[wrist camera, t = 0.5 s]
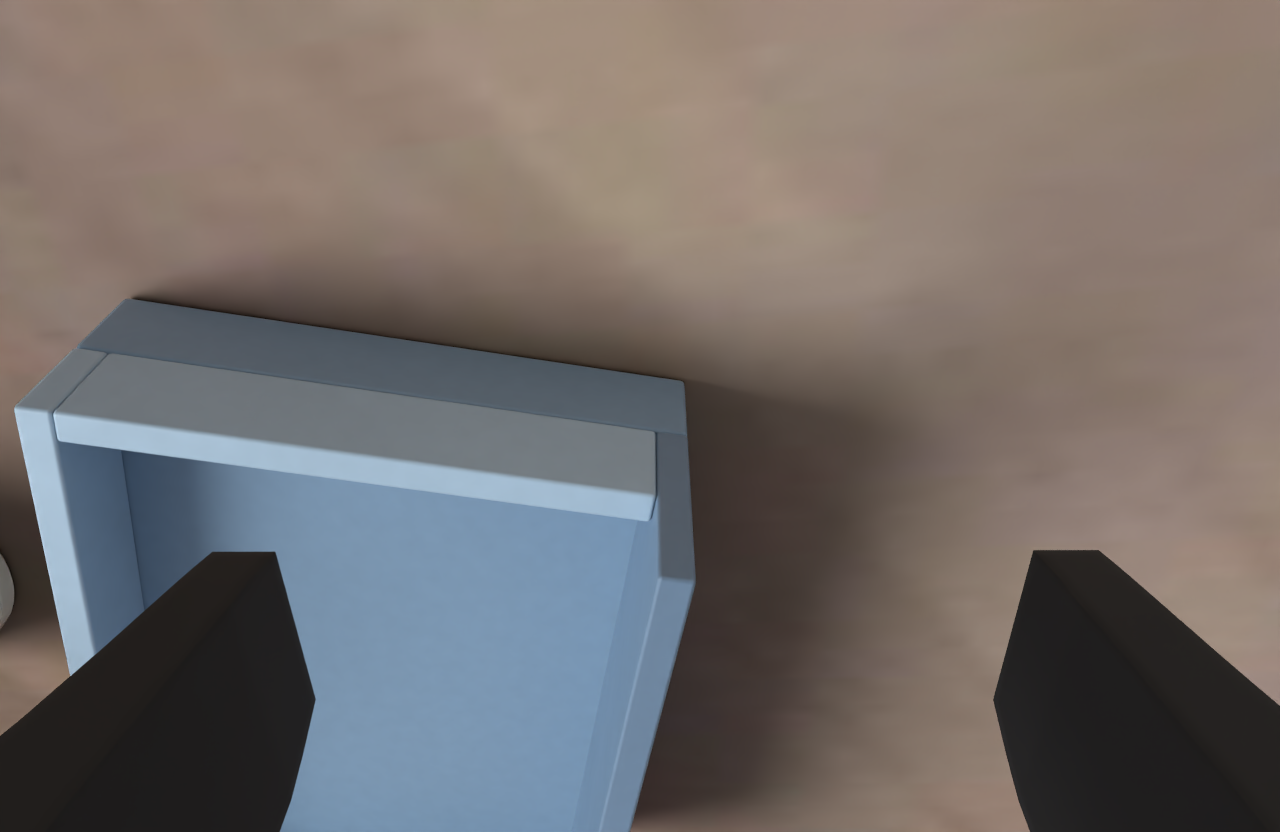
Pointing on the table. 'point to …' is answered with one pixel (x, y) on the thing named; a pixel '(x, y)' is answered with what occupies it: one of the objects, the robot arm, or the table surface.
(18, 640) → the table surface
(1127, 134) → the table surface
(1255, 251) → the table surface
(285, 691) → the robot arm
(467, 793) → the light blue shelf
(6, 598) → the cup
